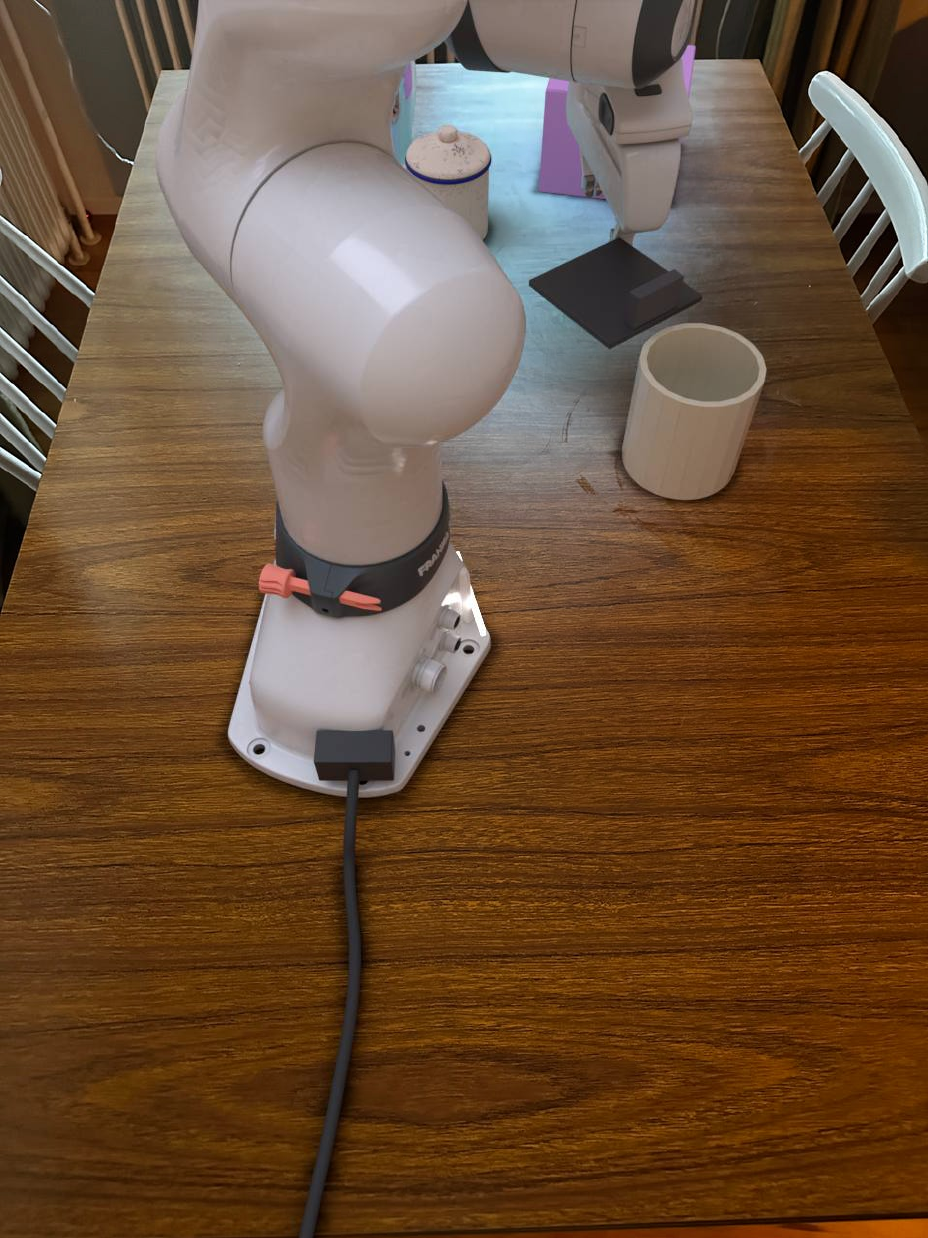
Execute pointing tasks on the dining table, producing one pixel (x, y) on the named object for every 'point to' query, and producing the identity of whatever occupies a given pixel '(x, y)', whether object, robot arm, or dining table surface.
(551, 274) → the slider lid
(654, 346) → the beige cylindrical container
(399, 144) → the silver metal cup
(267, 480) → the dining table surface
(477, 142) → the teacup with lid
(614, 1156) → the dining table surface
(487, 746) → the dining table surface
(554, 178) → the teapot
